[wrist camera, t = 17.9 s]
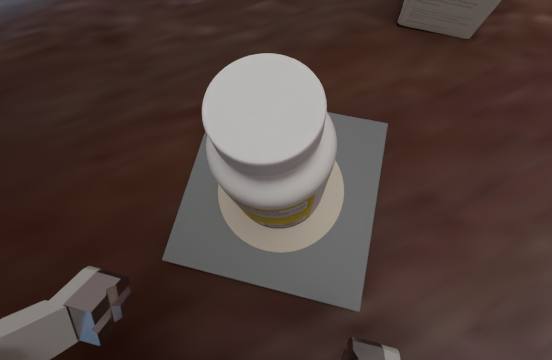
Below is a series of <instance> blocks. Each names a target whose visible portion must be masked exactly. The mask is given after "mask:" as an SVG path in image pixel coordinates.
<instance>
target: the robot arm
mask: <svg viewBox="0 0 552 360" xmlns="http://www.w3.org/2000/svg"><path fill="white" fill-rule="evenodd" d="M129 284H130V281H129V277H127V276H124V275H120V274H117V273H113V272H110V271H106V270H103V269H100V268H96V267H92V266H88V267H86V268H84V269H83V270H82V271H80V272H79V273H78V274H77V275H76V276H75V277H74V278H73V279H72V280H71V281H70V282H69V283H67V284H66V285H65V286H64V287H63V288H62V289H61V290H60V291H59V292H58V293H57V294H56V295H54V296H53V297H52V298H51V299H50V300H49V301H46V300H44V301H41V302H39V303H37V304H34V305H32V306H30V307H27V308H25V309H23V310H20V311H18V312H16V313H13V314H11V315H9V316H6V317H4V318H2V319H0V360H50V359H52V358H53V357H55V356H56V355H58V354H60V353H61V352H63V351H64V350H66V349H67V348H69V347H70V346H72V345H74V344H75V343H77V342H78V340H80V341H83V342H87V343H91V344H94V345H98V346H101V345H102V344H103V342H104V341H105V340H106V338H107V337H108V336H109V334H110V333H111V332H112V330H113V329H114V322H115V321H117V320H119V319H121V318H122V317H123V316H124V315H125V313H126V312H127V311H128V308H129V306H130V304H131V301H132V292H131V290H130V289H129V288H128V287H127V286H128V285H129ZM341 360H401V359H400V354H399V351H398V350H397V349H396V348H393V347H388V346H384V345H381V344H379V343H375V342H371V341H367V340H363V339H359V338H355V337H350V338H349V340H348V349H346V350H344V353H343V355H342V359H341Z"/></svg>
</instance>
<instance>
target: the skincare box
mask: <svg viewBox="0 0 552 360" xmlns="http://www.w3.org/2000/svg"><path fill="white" fill-rule="evenodd" d="M500 2H501V0H404V2H403V6H402V10H401V13H400V16H399V19H398V24H399V25H402V26H406V27H411V28H416V29H421V30H426V31H430V32H435V33H440V34H444V35H449V36H454V37H459V38H464V39H470V38H471V36H472V35H473V34H474V33H475V31H476V30H477V29H478V28H479V27H480V25H481V24H482V23H483V22H484V21H485V19H486V18H487V17H488V16H489V15H490V13H491V12H492V11H493V10H494V9H495V8H496V6H497V5H498V4H499V3H500Z"/></svg>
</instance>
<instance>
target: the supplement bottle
mask: <svg viewBox="0 0 552 360" xmlns="http://www.w3.org/2000/svg"><path fill="white" fill-rule="evenodd" d="M202 120H203V125H204V128H205V131H206V133H207V139H206V154H207V160H208V164H209V167H210V170H211V172H212V174H213V176H214V178H215V179H216V181H217V183H218V184H219V185H220V187H221V188H222V189H223V190H224V192H225V193H226V194H227V195H228V196H229V197H230V198H231V199H232V200H233V201H234V202H235V203H236V204H237V205H238V206H239V207H240V209H241V210H242V211H243V212H244V213H245V214H246V215H247V216H248V217H249V218H251V219H252V220H253V221H255V222H256V223H258V224H260V225H262V226H265V227H268V228H274V229H284V228H290V227H293V226H296V225H298V224H300V223H302V222H304V221H305V220H306V219H307V218H309V217H310V216H311V215H312V214H313V212H314V211H315V210H316V208H317V206H318V205H319V203H320V201H321V198H322V196H323V193H324V190H325V187H326V185H327V182H328V179H329V177H330V174H331V171H332V169H333V166H334V162H335V158H336V153H337V137H336V131H335V128H334V125H333V122H332V120H331V118H330V116H329V114H328V113H327V102H326V96H325V92H324V89H323V87H322V85H321V83H320V81H319V79H318V78H317V77H316V75H315V74H314V73H313V72H312V71H311V70H310V69H309V68H308V67H307V66H305V65H304V64H302V63H301V62H299V61H297V60H295V59H293V58H290V57H288V56H284V55H280V54H271V53H265V54H255V55H250V56H247V57H244V58H241V59H239V60H237V61H234V62H233V63H231V64H229V65H228V66H226V67H225V68H224V69H223V70H221V71H220V72H219V73H218V74H217V75H216V76H215V78H214V79H213V80H212V82H211V83H210V85H209V87H208V88H207V90H206V93H205V96H204V99H203V104H202Z"/></svg>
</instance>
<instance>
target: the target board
mask: <svg viewBox="0 0 552 360" xmlns="http://www.w3.org/2000/svg"><path fill="white" fill-rule="evenodd" d="M327 113H328V114H329V116H330V118H331V120H332V122H333V125H334V128H335V131H336V137H337V153H336V158H335V162H334V166H333V169H332V171H331V174H330V177H329V179H328V182H327V185H326V187H325V190H324V193H323V196H322V198H321V201H320V203H319V205H318V206H317V208H316V210H315V211H314V212H313V214H312V215H311V216H310V217H309V218H307V219H306V220H305V221H304V222H302V223H300V224H298V225H296V226H293V227H290V228H284V229H274V228H268V227H265V226H262V225H260V224H258V223H256V222H255V221H253V220H252V219H251V218H249V217H248V216H247V215H246V214H245V213H244V212H243V211H242V210H241V209H240V207H239V206H238V205H237V204H236V203H235V202H234V201H233V200H232V199H231V198H230V197H229V196H228V195H227V194H226V193H225V192H224V190H223V189H222V188H221V187H220V185H219V184H218V183H217V181H216V179H215V178H214V176H213V174H212V172H211V170H210V167H209V164H208V160H207V154H206V139H207V133H206V131H205V134H204V137H203V140H202V143H201V146H200V149H199V152H198V154H197V157H196V160H195V163H194V166H193V169H192V172H191V175H190V178H189V181H188V184H187V187H186V190H185V193H184V196H183V199H182V202H181V205H180V208H179V211H178V214H177V217H176V220H175V223H174V226H173V229H172V232H171V234H170V237H169V240H168V243H167V246H166V249H165V252H164V255H163V258H162V260H164V261H167V262H171V263H175V264H179V265H183V266H186V267H190V268H194V269H198V270H202V271H205V272H209V273H213V274H217V275H221V276H225V277H228V278H232V279H236V280H240V281H244V282H247V283H251V284H255V285H259V286H263V287H266V288H270V289H274V290H278V291H282V292H285V293H289V294H293V295H297V296H301V297H304V298H308V299H312V300H316V301H320V302H324V303H327V304H331V305H335V306H339V307H343V308H346V309H350V310H354V311H358V312H360V306H361V299H362V292H363V286H364V279H365V272H366V266H367V259H368V252H369V246H370V239H371V232H372V225H373V219H374V212H375V205H376V199H377V192H378V185H379V179H380V172H381V165H382V159H383V152H384V145H385V139H386V132H387V125H388V124H387V123H382V122H377V121H371V120H366V119H361V118H355V117H350V116H345V115H339V114H334V113H329V112H327Z"/></svg>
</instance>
